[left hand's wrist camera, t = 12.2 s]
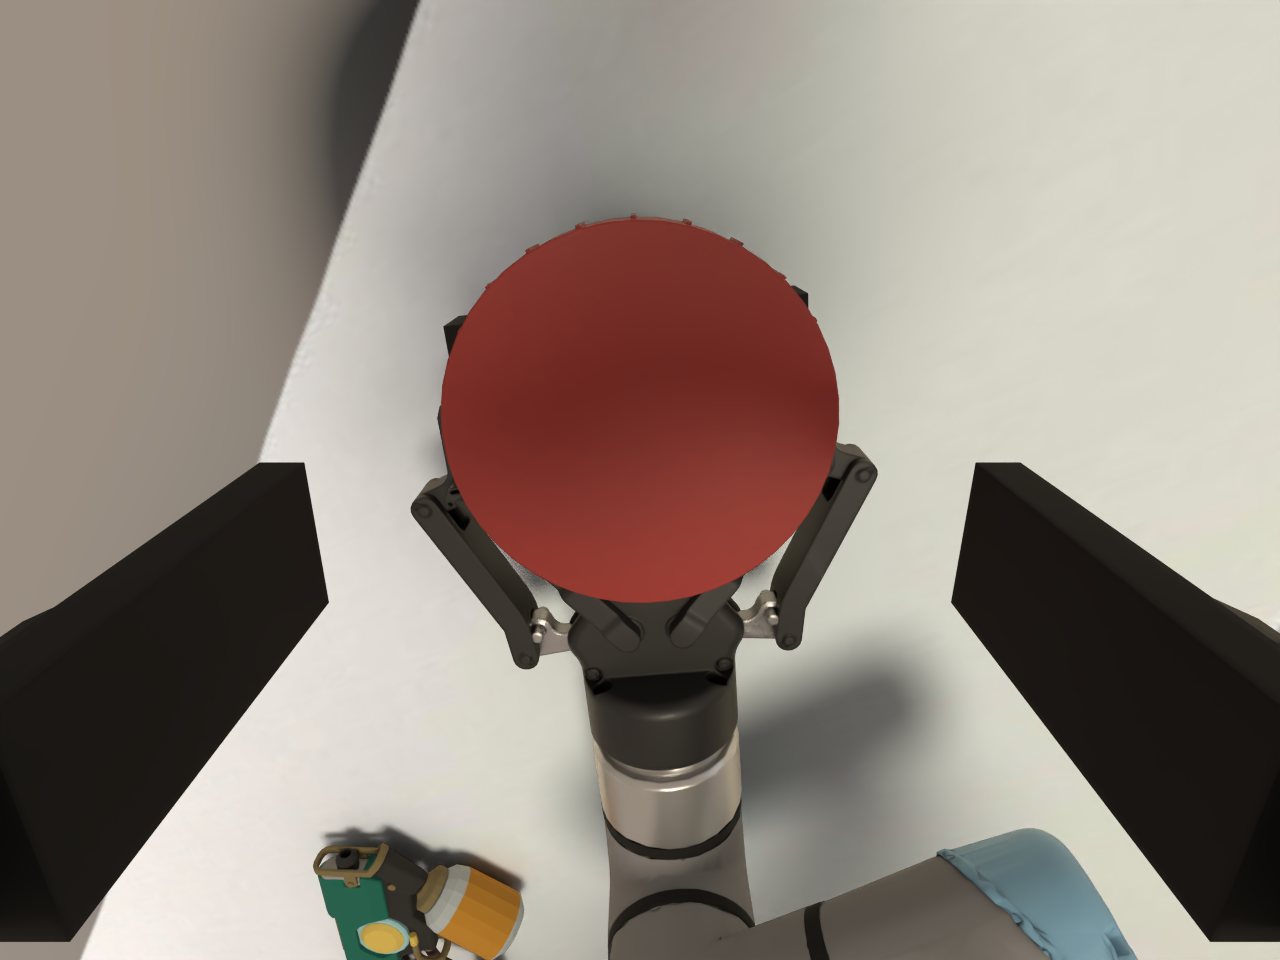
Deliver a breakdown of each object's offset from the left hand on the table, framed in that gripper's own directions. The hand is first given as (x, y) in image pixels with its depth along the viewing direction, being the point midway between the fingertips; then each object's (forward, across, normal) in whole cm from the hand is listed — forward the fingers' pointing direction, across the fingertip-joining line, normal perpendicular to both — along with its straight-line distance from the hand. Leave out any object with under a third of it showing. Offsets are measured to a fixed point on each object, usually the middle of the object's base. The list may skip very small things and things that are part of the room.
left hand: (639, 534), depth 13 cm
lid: (+6, 0, 0) cm, 6 cm away
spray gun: (+25, +15, +42) cm, 51 cm away
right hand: (+19, +1, -1) cm, 19 cm away
